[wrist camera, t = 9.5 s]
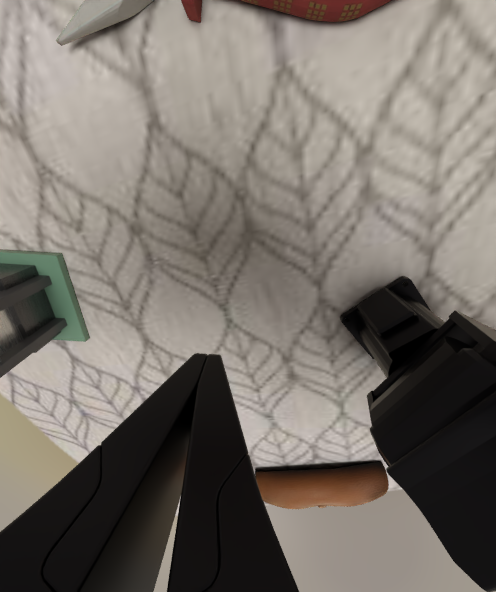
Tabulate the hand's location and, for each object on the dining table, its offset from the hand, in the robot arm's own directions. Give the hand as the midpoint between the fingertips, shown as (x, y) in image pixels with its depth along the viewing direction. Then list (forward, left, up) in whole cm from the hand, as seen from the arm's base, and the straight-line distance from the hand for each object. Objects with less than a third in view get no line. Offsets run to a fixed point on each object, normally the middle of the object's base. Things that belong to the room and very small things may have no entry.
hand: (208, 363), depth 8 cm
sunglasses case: (-34, +15, -14) cm, 39 cm away
